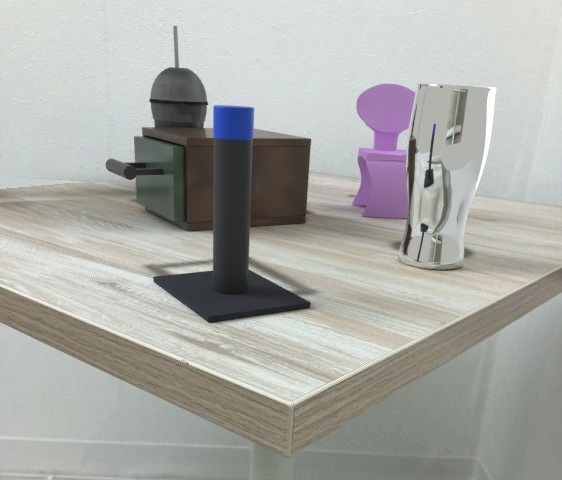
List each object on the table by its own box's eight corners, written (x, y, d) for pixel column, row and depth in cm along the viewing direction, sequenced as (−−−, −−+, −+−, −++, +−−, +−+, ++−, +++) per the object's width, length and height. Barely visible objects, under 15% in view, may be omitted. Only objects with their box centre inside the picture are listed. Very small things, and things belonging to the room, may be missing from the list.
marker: (205, 285, 48) (206, 104, 43) (238, 282, 49) (242, 105, 44) (222, 296, 46) (224, 107, 41) (255, 292, 47) (261, 108, 42)
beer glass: (467, 256, 63) (496, 87, 56) (469, 274, 56) (502, 87, 50) (395, 249, 64) (415, 83, 58) (389, 266, 58) (412, 82, 51)
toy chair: (354, 216, 79) (367, 82, 72) (344, 204, 87) (355, 81, 80) (421, 219, 79) (439, 86, 73) (404, 206, 87) (420, 85, 81)
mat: (153, 281, 50) (153, 276, 50) (244, 271, 54) (244, 267, 53) (208, 322, 42) (208, 316, 42) (310, 307, 46) (310, 302, 46)
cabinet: (187, 231, 67) (186, 137, 63) (144, 209, 76) (141, 127, 72) (305, 222, 74) (311, 138, 70) (252, 203, 83) (255, 128, 80)
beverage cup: (159, 202, 80) (155, 21, 72) (146, 193, 86) (140, 24, 78) (215, 201, 83) (216, 26, 75) (198, 192, 89) (198, 29, 81)
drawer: (134, 224, 64) (131, 146, 61) (100, 204, 73) (96, 135, 70) (286, 215, 73) (290, 146, 70) (239, 198, 81) (240, 136, 78)
